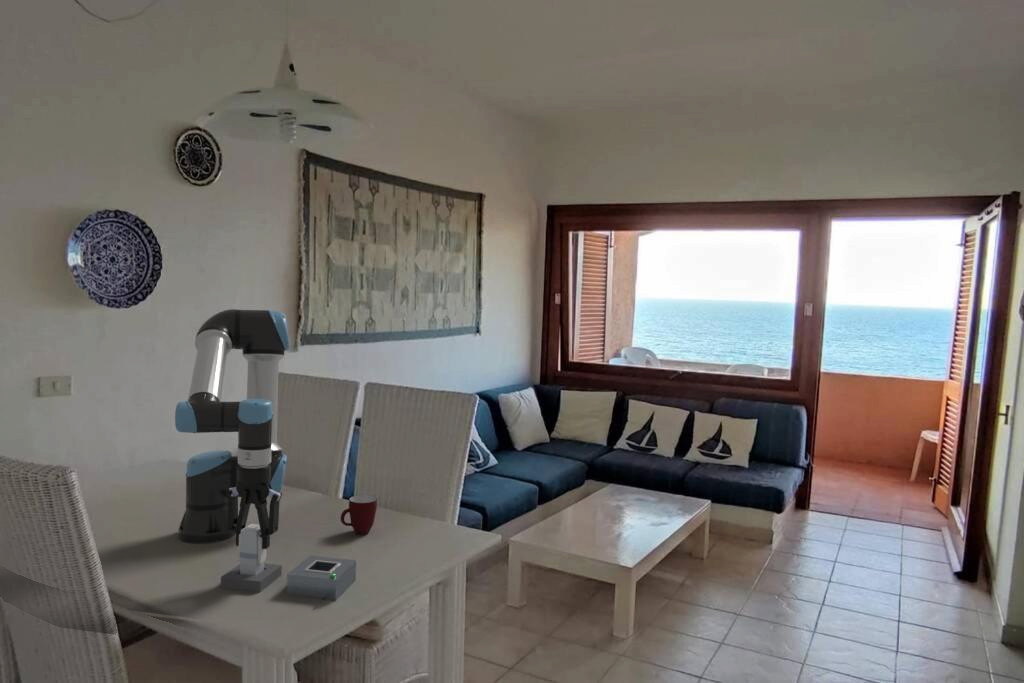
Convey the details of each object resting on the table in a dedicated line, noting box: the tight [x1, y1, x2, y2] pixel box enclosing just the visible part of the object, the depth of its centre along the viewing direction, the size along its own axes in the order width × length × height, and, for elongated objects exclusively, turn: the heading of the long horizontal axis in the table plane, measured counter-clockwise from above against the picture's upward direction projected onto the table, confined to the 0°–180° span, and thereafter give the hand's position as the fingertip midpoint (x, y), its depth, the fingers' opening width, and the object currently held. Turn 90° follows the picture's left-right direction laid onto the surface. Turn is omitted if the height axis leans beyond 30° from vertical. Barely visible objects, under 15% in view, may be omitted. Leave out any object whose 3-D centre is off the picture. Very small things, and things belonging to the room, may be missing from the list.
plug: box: [239, 523, 265, 576], centre depth 165 cm, size 4×4×13 cm
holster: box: [220, 562, 283, 593], centre depth 165 cm, size 10×10×3 cm
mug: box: [340, 494, 378, 535], centre depth 203 cm, size 10×8×10 cm
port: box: [286, 555, 357, 602], centre depth 164 cm, size 12×12×6 cm
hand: (252, 560), depth 165 cm, fingers closed on plug, 4 cm apart
